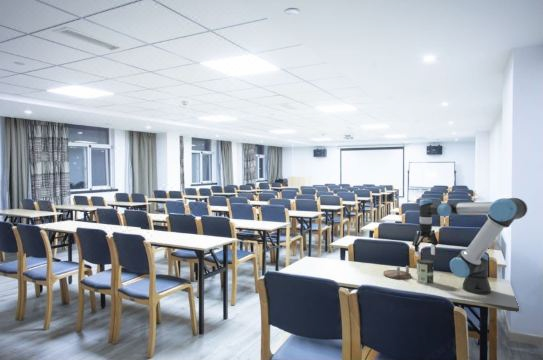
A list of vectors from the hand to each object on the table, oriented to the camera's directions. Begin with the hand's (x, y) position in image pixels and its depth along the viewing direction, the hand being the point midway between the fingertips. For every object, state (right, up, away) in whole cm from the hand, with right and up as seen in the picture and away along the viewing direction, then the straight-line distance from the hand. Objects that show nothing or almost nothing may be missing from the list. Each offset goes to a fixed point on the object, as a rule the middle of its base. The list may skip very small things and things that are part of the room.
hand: (425, 255), depth 238 cm
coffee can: (0, -18, 0) cm, 18 cm away
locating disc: (-13, -17, +15) cm, 26 cm away
